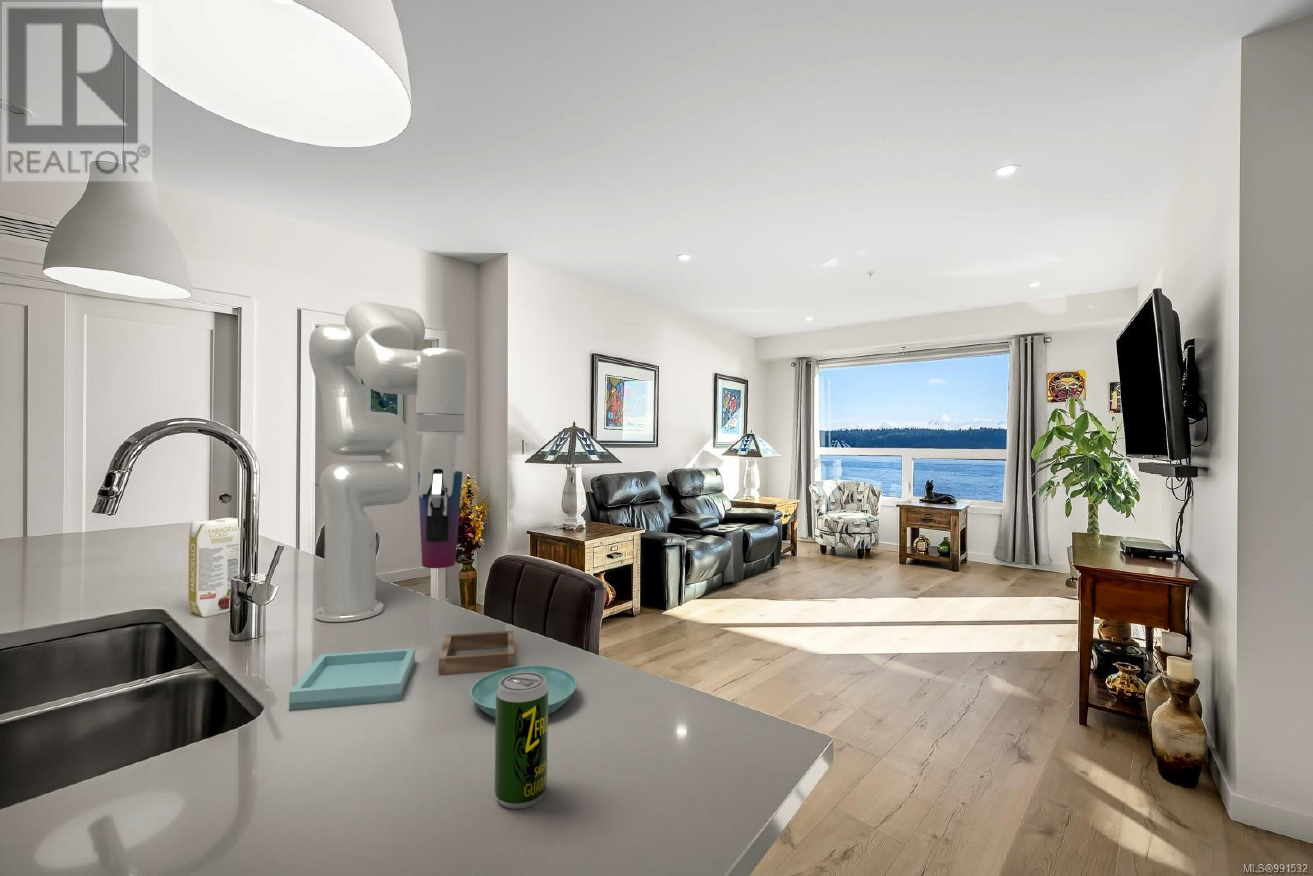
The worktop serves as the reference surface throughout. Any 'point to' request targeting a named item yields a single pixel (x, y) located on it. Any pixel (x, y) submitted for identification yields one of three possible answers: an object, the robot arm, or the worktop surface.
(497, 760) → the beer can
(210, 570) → the juice carton
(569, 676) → the saucer
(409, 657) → the tray
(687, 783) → the worktop surface
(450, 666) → the holder
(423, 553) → the cup
